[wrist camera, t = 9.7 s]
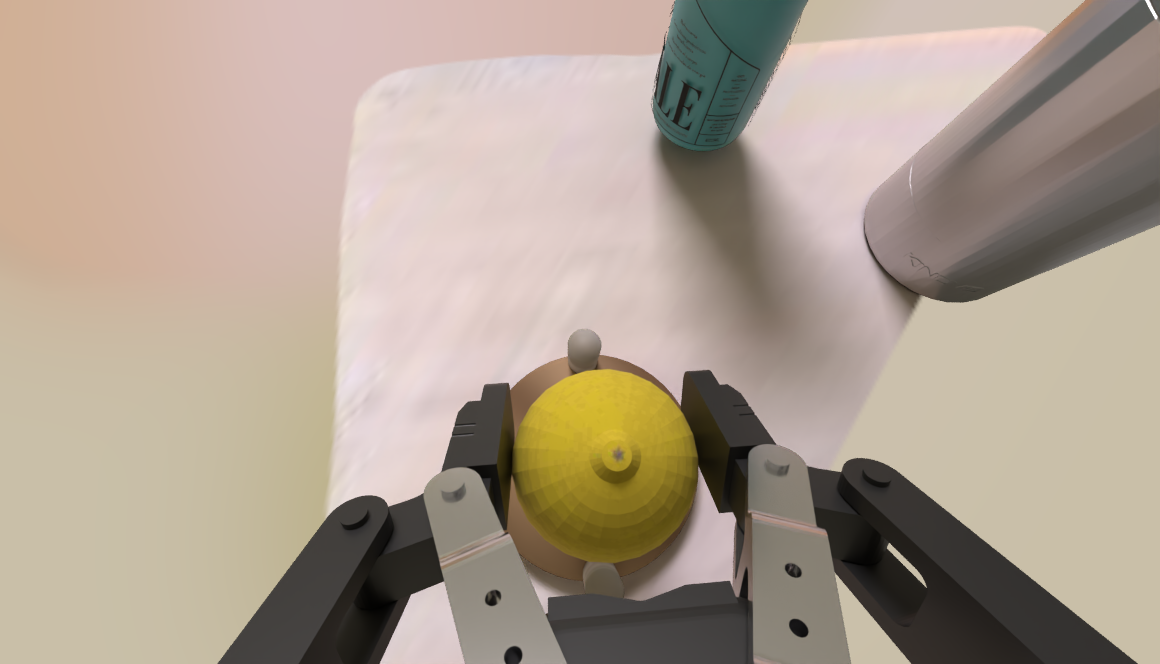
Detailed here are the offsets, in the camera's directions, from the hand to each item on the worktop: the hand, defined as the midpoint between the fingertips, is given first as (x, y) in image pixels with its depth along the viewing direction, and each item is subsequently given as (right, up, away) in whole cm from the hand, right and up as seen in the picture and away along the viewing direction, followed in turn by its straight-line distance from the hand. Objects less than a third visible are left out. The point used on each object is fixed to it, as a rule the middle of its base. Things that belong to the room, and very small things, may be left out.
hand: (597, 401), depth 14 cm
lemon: (0, -3, +4) cm, 5 cm away
